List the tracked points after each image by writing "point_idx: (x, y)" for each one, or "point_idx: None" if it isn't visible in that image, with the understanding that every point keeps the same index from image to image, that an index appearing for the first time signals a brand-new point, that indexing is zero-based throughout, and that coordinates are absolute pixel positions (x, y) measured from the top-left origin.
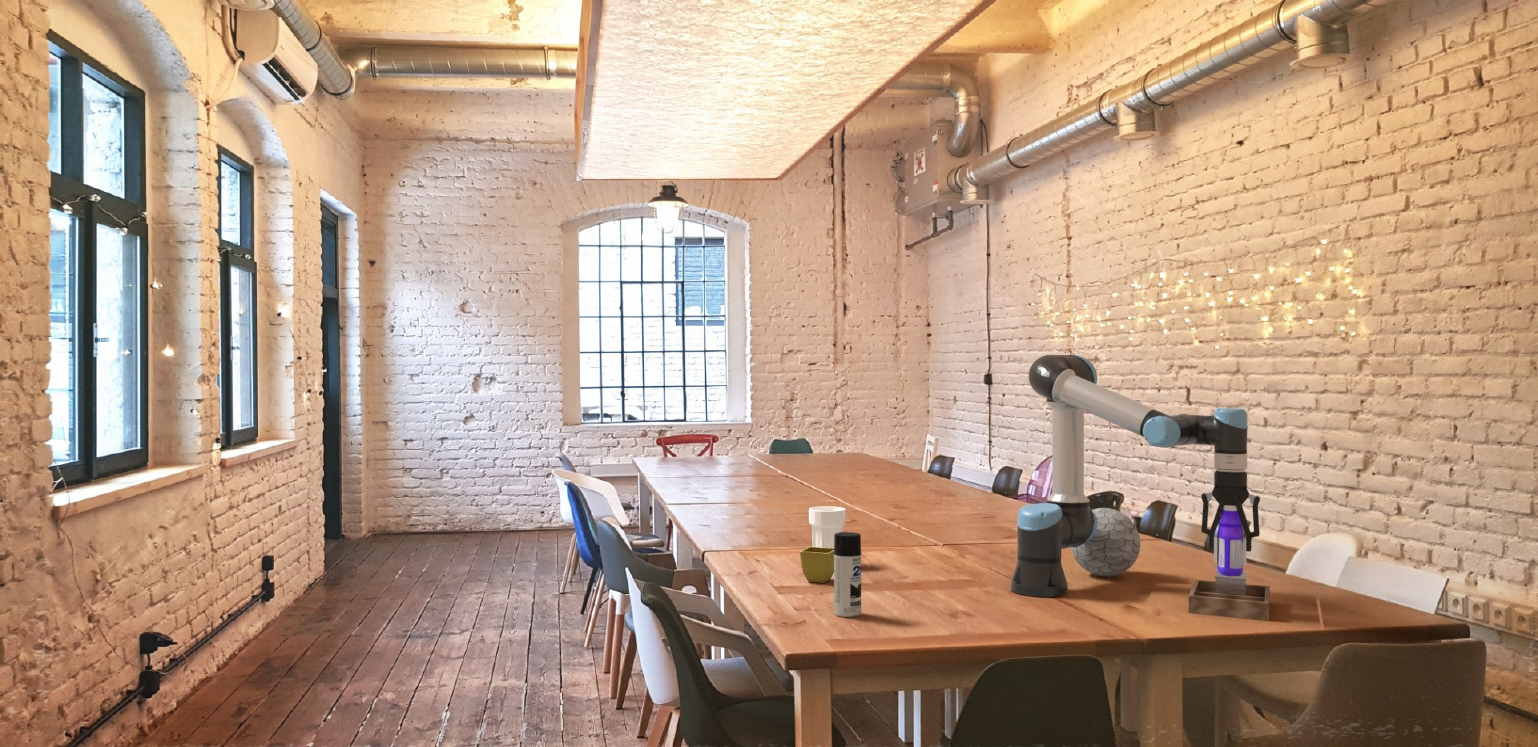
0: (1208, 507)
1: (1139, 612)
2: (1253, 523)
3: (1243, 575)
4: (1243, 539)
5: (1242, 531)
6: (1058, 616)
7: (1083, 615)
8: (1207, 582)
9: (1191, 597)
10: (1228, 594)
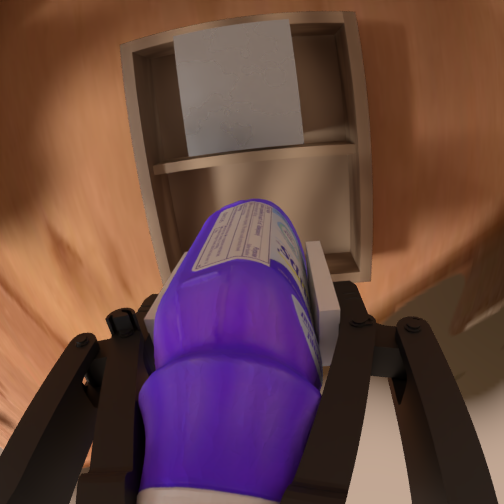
0: (43, 476)
1: (94, 288)
2: (400, 432)
3: (283, 75)
4: (322, 363)
5: (320, 385)
6: (41, 363)
7: (54, 347)
8: (158, 45)
9: None
10: (246, 153)
